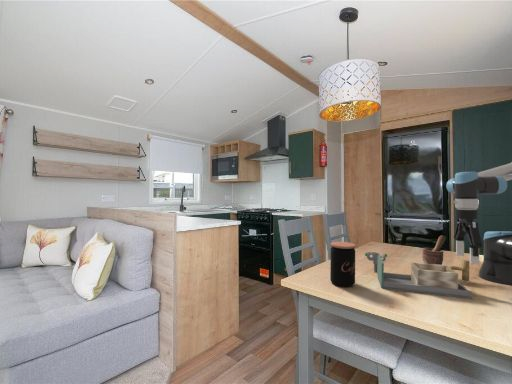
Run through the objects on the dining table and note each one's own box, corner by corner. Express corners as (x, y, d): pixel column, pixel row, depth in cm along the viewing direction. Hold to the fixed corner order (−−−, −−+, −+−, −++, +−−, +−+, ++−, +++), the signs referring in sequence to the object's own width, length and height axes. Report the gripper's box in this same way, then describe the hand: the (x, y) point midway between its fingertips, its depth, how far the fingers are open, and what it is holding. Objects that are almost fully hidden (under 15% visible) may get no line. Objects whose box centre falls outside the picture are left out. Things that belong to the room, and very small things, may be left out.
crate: (462, 285, 113) (463, 257, 113) (475, 295, 102) (476, 265, 101) (410, 279, 119) (411, 253, 119) (417, 289, 108) (418, 260, 108)
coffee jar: (342, 289, 109) (343, 247, 109) (325, 281, 119) (325, 242, 119) (360, 285, 114) (360, 245, 114) (342, 278, 124) (342, 240, 124)
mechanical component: (387, 273, 131) (387, 254, 130) (365, 272, 133) (365, 253, 133) (385, 272, 133) (385, 252, 133) (364, 270, 136) (364, 251, 135)
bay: (456, 285, 115) (456, 261, 115) (471, 298, 101) (471, 271, 101) (377, 277, 125) (377, 255, 125) (381, 288, 111) (381, 263, 111)
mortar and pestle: (429, 270, 136) (429, 233, 136) (448, 275, 129) (448, 235, 128) (419, 275, 129) (419, 235, 129) (439, 280, 122) (439, 238, 122)
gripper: (444, 206, 120) (445, 252, 121) (468, 211, 97) (469, 267, 97) (464, 206, 118) (464, 253, 118) (493, 211, 94) (494, 269, 95)
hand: (466, 259), depth 108 cm, fingers open, 13 cm apart
